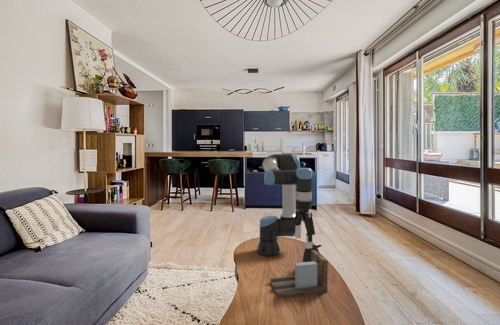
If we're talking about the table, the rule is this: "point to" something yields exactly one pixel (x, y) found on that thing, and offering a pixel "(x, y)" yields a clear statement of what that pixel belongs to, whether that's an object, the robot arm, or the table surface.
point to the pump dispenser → (309, 253)
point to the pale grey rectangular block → (305, 275)
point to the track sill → (287, 288)
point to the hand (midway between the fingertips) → (303, 242)
